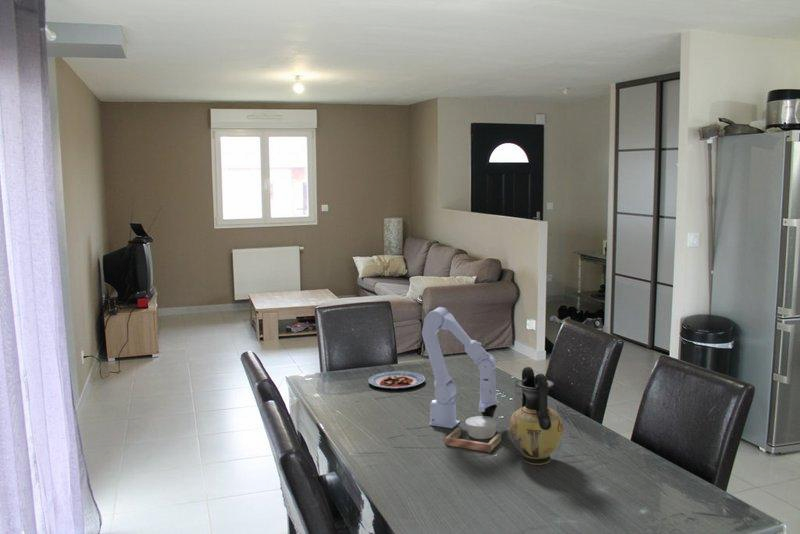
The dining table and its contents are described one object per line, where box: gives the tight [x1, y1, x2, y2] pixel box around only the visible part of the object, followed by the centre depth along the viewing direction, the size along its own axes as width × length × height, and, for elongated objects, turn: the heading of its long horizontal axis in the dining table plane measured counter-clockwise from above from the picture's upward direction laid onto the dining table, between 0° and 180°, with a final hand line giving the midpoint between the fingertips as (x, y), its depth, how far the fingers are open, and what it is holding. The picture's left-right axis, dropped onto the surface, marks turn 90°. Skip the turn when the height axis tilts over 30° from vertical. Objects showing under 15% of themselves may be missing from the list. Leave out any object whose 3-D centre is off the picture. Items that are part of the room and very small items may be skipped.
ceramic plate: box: [367, 370, 426, 390], centre depth 316 cm, size 26×26×3 cm
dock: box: [444, 427, 502, 453], centre depth 242 cm, size 16×11×2 cm
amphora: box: [509, 366, 564, 466], centre depth 225 cm, size 18×17×30 cm
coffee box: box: [514, 379, 522, 412], centre depth 257 cm, size 9×6×16 cm
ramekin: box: [465, 415, 498, 440], centre depth 249 cm, size 11×11×5 cm
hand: (488, 424), depth 256 cm, fingers closed
